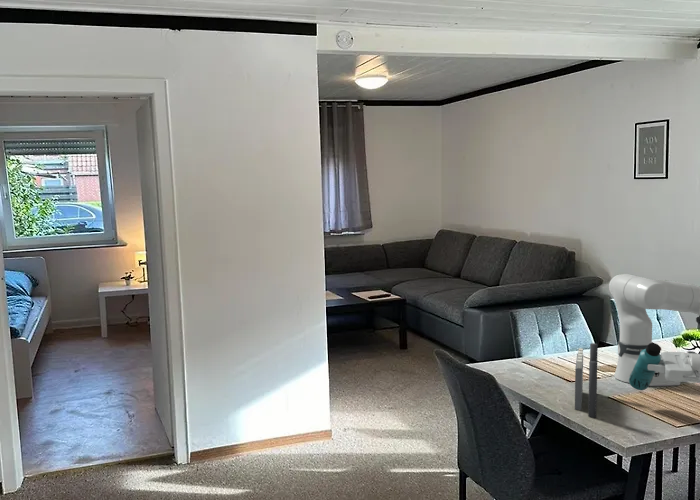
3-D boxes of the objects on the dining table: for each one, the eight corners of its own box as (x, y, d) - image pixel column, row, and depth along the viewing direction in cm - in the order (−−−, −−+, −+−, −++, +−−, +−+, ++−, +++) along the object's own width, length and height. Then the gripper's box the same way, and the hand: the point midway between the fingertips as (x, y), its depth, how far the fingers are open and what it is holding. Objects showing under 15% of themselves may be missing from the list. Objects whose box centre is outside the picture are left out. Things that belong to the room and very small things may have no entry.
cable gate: (596, 392, 222) (597, 343, 220) (596, 418, 200) (597, 363, 197) (589, 392, 223) (590, 343, 221) (588, 417, 200) (589, 362, 198)
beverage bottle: (623, 379, 212) (639, 340, 199) (641, 376, 213) (658, 337, 200) (633, 395, 207) (649, 356, 194) (651, 392, 208) (669, 353, 195)
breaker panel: (582, 392, 223) (583, 347, 221) (581, 410, 207) (582, 362, 205) (576, 391, 224) (577, 347, 222) (574, 409, 207) (575, 361, 205)
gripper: (700, 388, 185) (648, 384, 191) (691, 368, 204) (644, 364, 209) (701, 368, 185) (649, 364, 190) (692, 349, 203) (645, 346, 209)
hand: (646, 364), depth 200 cm, fingers open, 4 cm apart
